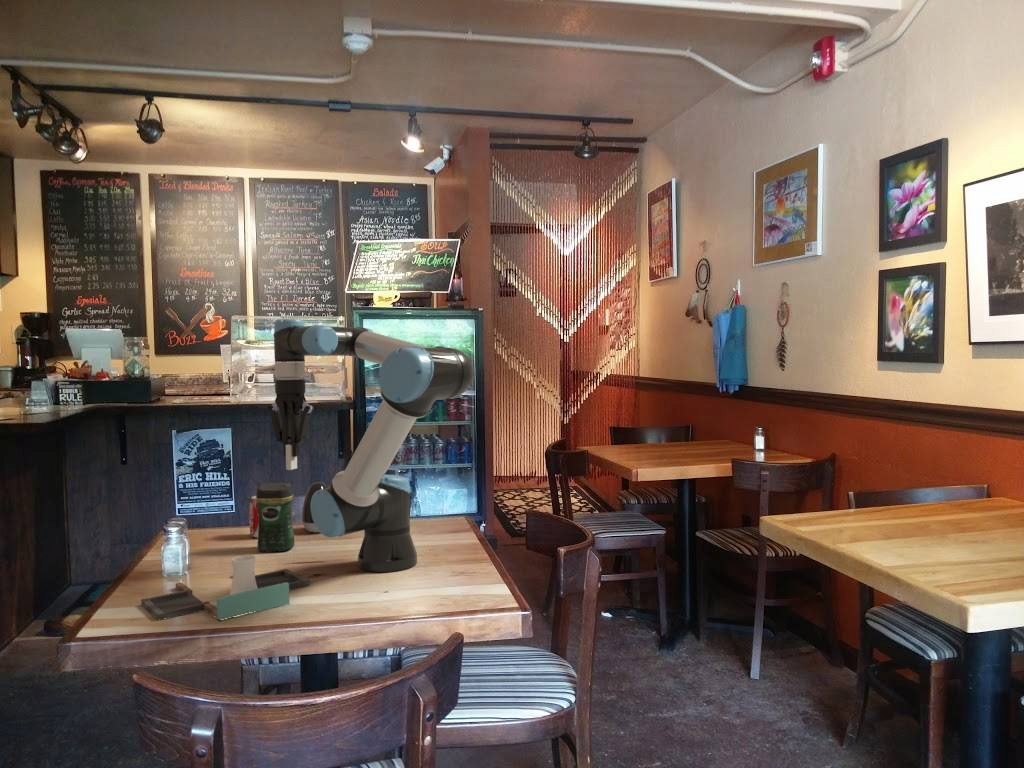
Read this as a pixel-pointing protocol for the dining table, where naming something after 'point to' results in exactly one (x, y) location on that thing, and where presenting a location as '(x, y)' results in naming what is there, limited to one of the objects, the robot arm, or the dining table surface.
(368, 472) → the robot arm
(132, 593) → the dining table surface
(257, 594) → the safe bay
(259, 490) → the coffee jar
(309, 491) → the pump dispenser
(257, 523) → the soda can
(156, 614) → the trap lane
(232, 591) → the vase
